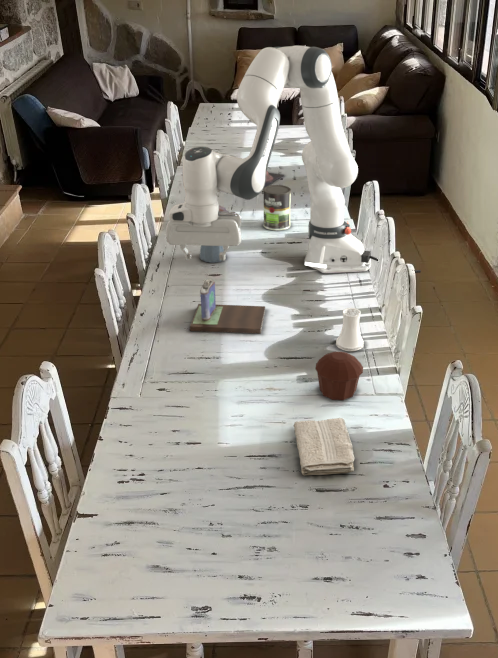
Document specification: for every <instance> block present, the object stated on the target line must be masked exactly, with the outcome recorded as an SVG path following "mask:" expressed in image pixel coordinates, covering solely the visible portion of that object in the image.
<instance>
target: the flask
mask: <svg viewBox="0 0 498 658" xmlns="http://www.w3.org/2000/svg"><path fill="white" fill-rule="evenodd" d="M202 282H203V284H202V285H201V288H200V291H199V295H200V296H199V298H200V304H201V313H202V320H203V319H204V320H203V321H208V320H210V319H211V318H210V317H211V316H212V315H213V312H214V311H215V309H216V305H217V304H216V303H217V302H216V281H215V280H214V279H208V278H207V279H202Z"/></svg>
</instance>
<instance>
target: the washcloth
mask: <svg viewBox="0 0 498 658" xmlns="http://www.w3.org/2000/svg"><path fill="white" fill-rule="evenodd" d="M293 429H294V434H295V435H294V436H295V439H296V448H297V451H298V456H299V463H300V469H301V471H300V472H301V474H302V476H312V475H314V476H315V475H317V476H322V475H337V474H348V473H352V472H354V470H355V467H354V461H355V455H354V448H353V443H352V441H351V437H350V432H349V431H348V427H347V424H346V421H345V419H344V418H343V417H336V418H335V417H334V418H328V419H327V418H326V419H324V420H323V419H322V420H310V419H309V420H299V421H298V420H297V421H294V423H293Z"/></svg>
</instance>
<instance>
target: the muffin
mask: <svg viewBox="0 0 498 658" xmlns="http://www.w3.org/2000/svg"><path fill="white" fill-rule="evenodd" d="M315 371H316V374H317V379H318V386H319V391H320V392H321V394H322V396H323V397H325V398H328V399H330V400H332V401H345V400H347V399H351V398H353V397H354V394H355V393H356V391H357V389H358V388H357V387H358V384H359V380H360V376H361V375H363V373H364V366H363V365H362V363H361V362H360V361H359V360H358V358H357V357H356V356H355V355H352V354H350V353H349V352H347V351H340V350H339V351H331V352H327V353H325V354H324V355H322V357H320V358H319V359H318V360H317V362H316V363H315Z"/></svg>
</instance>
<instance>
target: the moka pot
mask: <svg viewBox="0 0 498 658" xmlns="http://www.w3.org/2000/svg"><path fill="white" fill-rule="evenodd" d="M219 211H224V212H230V211H229V210H227V208H226V207H225V206H222V205H219ZM223 251H224V249H223V246H204V245H200V249H199V259H200V260H201V261H203V262H206V263H213V264H215V263H221V262H223V261H224V260H219V258H220V257H219V254H220V252H223Z"/></svg>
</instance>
